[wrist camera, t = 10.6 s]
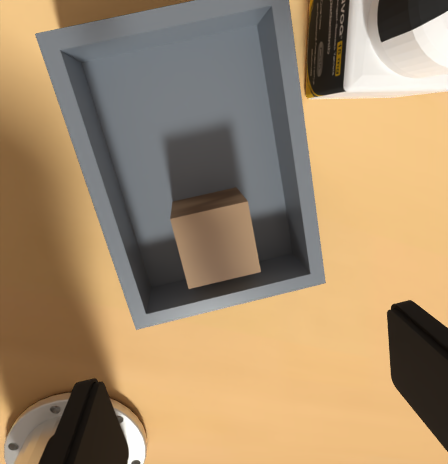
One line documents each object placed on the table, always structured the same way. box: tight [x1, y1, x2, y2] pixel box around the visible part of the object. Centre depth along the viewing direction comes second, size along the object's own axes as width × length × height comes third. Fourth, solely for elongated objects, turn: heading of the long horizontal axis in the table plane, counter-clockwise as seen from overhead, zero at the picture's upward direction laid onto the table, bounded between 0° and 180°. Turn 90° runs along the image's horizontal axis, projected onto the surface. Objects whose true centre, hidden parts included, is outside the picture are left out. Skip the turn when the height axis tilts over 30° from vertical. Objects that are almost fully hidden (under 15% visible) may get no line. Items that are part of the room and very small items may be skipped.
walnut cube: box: [170, 187, 261, 289], centre depth 25 cm, size 5×5×5 cm
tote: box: [35, 0, 326, 330], centre depth 24 cm, size 19×14×5 cm
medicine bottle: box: [306, 0, 448, 99], centre depth 20 cm, size 7×7×12 cm
